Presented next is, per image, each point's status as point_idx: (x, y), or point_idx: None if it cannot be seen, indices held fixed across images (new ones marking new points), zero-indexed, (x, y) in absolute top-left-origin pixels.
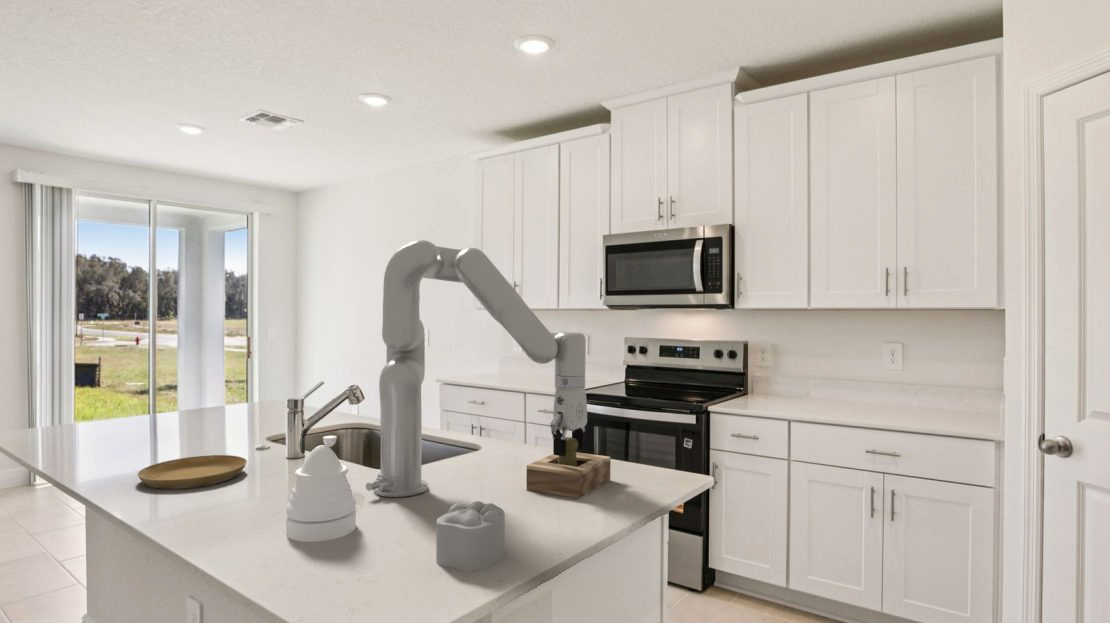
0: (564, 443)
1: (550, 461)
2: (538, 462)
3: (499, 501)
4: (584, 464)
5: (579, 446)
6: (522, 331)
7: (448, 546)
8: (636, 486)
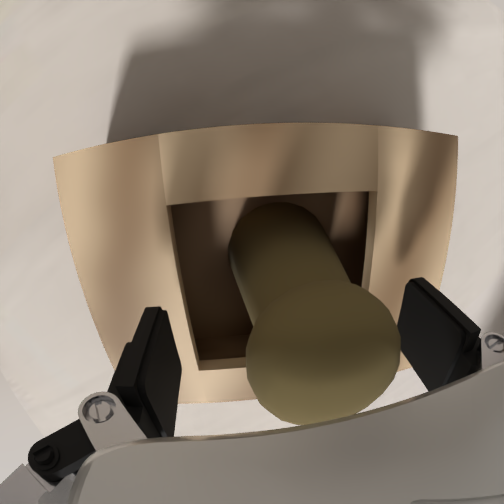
0: (464, 318)
1: None
2: None
3: (465, 302)
4: (312, 181)
5: (169, 331)
6: None
7: None
8: (126, 25)
